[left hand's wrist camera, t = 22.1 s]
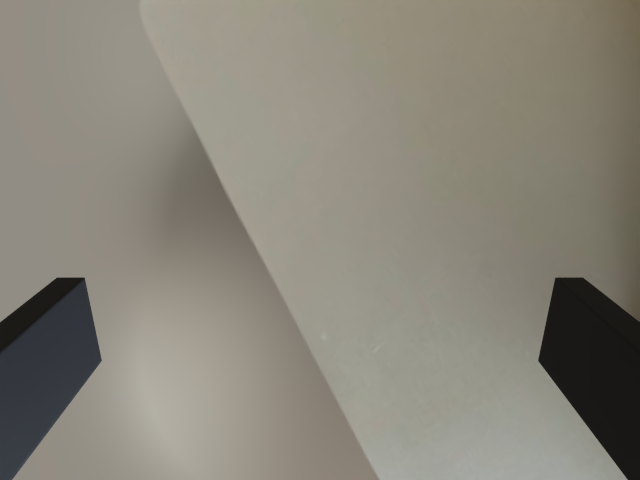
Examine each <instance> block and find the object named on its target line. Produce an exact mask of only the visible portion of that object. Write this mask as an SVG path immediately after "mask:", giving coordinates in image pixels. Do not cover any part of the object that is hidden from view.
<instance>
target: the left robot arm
mask: <svg viewBox="0 0 640 480" xmlns="http://www.w3.org/2000/svg"><path fill="white" fill-rule="evenodd" d="M101 361H102V360H101V355H100V350H99V345H98V340H97V336H96V331H95V326H94V321H93V316H92V311H91V307H90V302H89V297H88V292H87V287H86V282H85V278H56V279H55V280H53V281H52V282H51V283H50V284H49V285H47V286H46V287H45V288H43V289H42V290H41V291H40V292H38V293H37V294H36V295H34V296H33V297H32V298H31V299H29V300H28V301H27V302H26V303H24V304H23V305H22V306H21V307H19V308H18V309H17V310H15V311H14V312H13V313H12V314H10V315H9V316H8V317H7V318H5V319H4V320H3V321H1V322H0V480H12V479H13V478H14V476H15V475H16V474H17V472H18V471H19V470H20V469H21V467H22V466H23V464H24V463H25V462H26V460H27V459H28V458H29V456H30V455H31V454H32V453H33V451H34V450H35V449H36V447H37V446H38V445H39V443H40V442H41V441H42V439H43V438H44V437H45V435H46V434H47V433H48V431H49V430H50V429H51V427H52V426H53V425H54V423H55V422H56V421H57V419H58V418H59V417H60V415H61V414H62V413H63V411H64V410H65V409H66V407H67V406H68V405H69V403H70V402H71V401H72V399H73V398H74V397H75V395H76V394H77V393H78V392H79V390H80V389H81V387H82V386H83V385H84V383H85V382H86V381H87V380H88V378H89V377H90V376H91V374H92V373H93V372H94V370H95V369H96V368H97V366H98V365H99V364H100V362H101ZM538 361H539V362H540V364H541V365H542V366H543V368H544V369H545V370H546V372H547V373H548V374H549V376H550V377H551V378H552V380H553V381H554V382H555V384H556V385H557V386H558V388H559V389H560V390H561V392H562V393H563V394H564V395H565V397H566V398H567V399H568V401H569V402H570V403H571V405H572V406H573V407H574V409H575V410H576V411H577V413H578V414H579V415H580V417H581V418H582V419H583V421H584V422H585V423H586V425H587V426H588V427H589V429H590V430H591V431H592V433H593V434H594V435H595V437H596V438H597V439H598V441H599V442H600V443H601V445H602V446H603V447H604V449H605V450H606V451H607V453H608V454H609V455H610V457H611V458H612V459H613V461H614V462H615V463H616V465H617V466H618V467H619V469H620V470H621V471H622V473H623V474H624V475H625V476H626V478H627V479H628V480H640V322H639V321H637V320H636V319H635V318H634V317H632V316H631V315H630V314H628V313H627V312H626V311H625V310H623V309H622V308H621V307H620V306H618V305H617V304H616V303H614V302H613V301H612V300H611V299H609V298H608V297H607V296H606V295H604V294H603V293H602V292H600V291H599V290H598V289H597V288H595V287H594V286H593V285H592V284H590V283H589V282H588V281H587V280H585V279H584V278H555V282H554V287H553V292H552V297H551V302H550V307H549V311H548V316H547V321H546V326H545V331H544V336H543V340H542V345H541V350H540V355H539V360H538Z"/></svg>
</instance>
